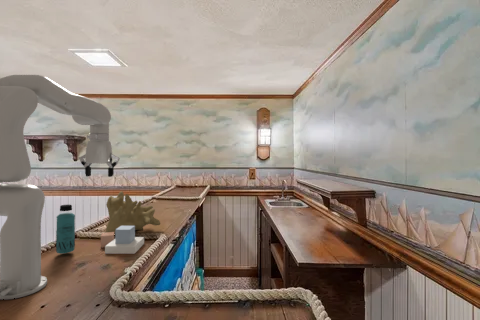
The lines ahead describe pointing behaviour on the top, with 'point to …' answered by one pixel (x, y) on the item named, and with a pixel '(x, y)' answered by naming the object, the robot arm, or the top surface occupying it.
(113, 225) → the decorative coral
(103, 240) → the terracotta block
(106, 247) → the pedestal
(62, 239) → the beverage bottle
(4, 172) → the robot arm
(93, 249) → the top surface
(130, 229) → the grey-blue cube
